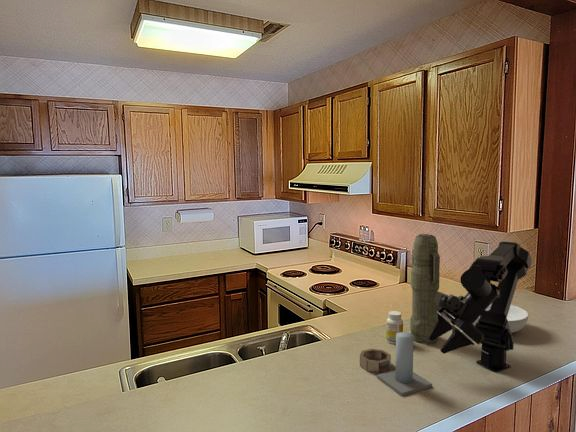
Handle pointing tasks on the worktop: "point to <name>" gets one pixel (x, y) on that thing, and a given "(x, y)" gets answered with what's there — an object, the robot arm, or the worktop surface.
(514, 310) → the serving bowl
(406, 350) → the slate peg
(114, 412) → the worktop surface
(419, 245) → the thermos
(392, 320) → the supplement bottle
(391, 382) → the gray base plate
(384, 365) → the bronze collar
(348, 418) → the worktop surface
